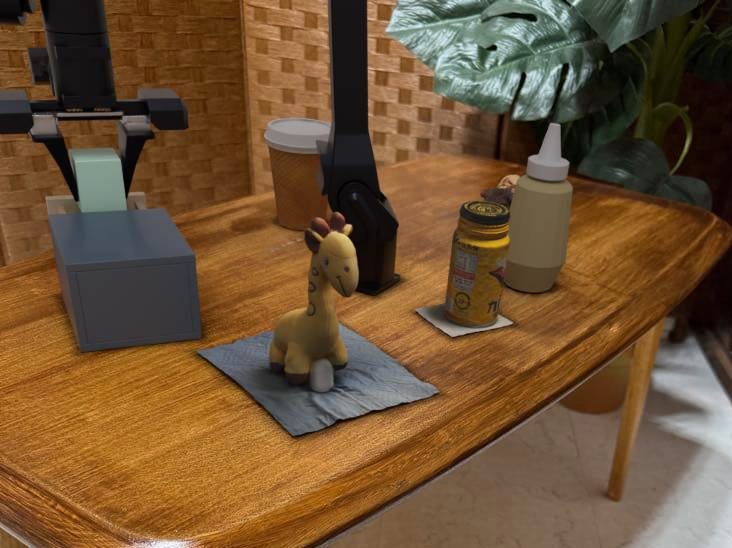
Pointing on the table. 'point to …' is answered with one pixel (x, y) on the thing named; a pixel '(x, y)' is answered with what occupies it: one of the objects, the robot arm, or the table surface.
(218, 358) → the stuffed giraffe
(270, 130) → the disposable coffee cup
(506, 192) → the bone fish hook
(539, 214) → the squeeze bottle
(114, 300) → the cabinet
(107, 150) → the block
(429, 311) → the condiment
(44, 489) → the table surface
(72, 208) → the drawer
